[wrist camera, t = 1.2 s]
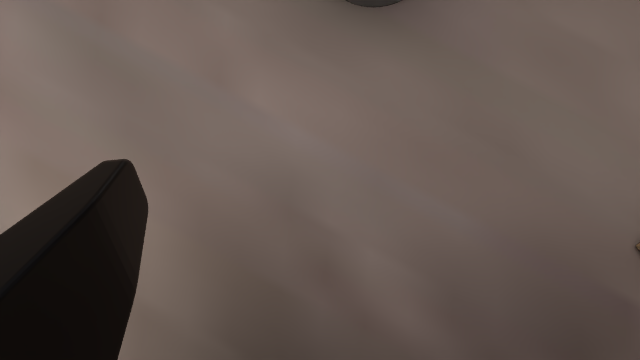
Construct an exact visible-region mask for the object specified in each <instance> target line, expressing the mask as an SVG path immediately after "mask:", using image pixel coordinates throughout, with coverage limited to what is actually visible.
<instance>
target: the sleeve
mask: <svg viewBox="0 0 640 360" xmlns="http://www.w3.org/2000/svg"><path fill="white" fill-rule="evenodd" d="M346 1H349V2H351V3H353V4H357V5H360V6H366V7H381V6H387V5H391V4H394V3H397V2H399V1H401V0H346Z"/></svg>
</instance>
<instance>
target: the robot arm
mask: <svg viewBox="0 0 640 360" xmlns="http://www.w3.org/2000/svg"><path fill="white" fill-rule="evenodd" d="M147 217H148V202H147V198H146V195H145V193H144V190H143V188H142V185H141V183H140V180H139V178H138V175H137V172H136V170H135V167H134V166H133V164H132V163H131V161H129V160H127V159H119V160H108V161H104V162H102V163H100V164H99V165H97V166H96V167H94V168H93V169H92V170H90V171H89V172H87V173H86V174H85V175H83V176H82V177H80V178H79V179H78V180H76V181H75V182H73V183H72V184H71V185H69V186H68V187H66V188H65V189H64V190H62V191H61V192H59V193H58V194H57V195H55V196H54V197H52V198H51V199H50V200H48V201H47V202H45V203H44V204H43V205H41V206H40V207H38V208H37V209H36V210H34V211H33V212H31V213H30V214H29V215H27V216H26V217H24V218H23V219H22V220H20V221H19V222H17V223H16V224H15V225H13V226H12V227H10V228H9V229H8V230H6V231H5V232H3V233H2V234H1V235H0V360H117V359H118V355H119V352H120V348H121V345H122V341H123V337H124V334H125V330H126V327H127V323H128V320H129V316H130V312H131V309H132V305H133V301H134V297H135V293H136V288H137V283H138V277H139V270H140V263H141V257H142V250H143V243H144V237H145V230H146V223H147Z"/></svg>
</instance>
